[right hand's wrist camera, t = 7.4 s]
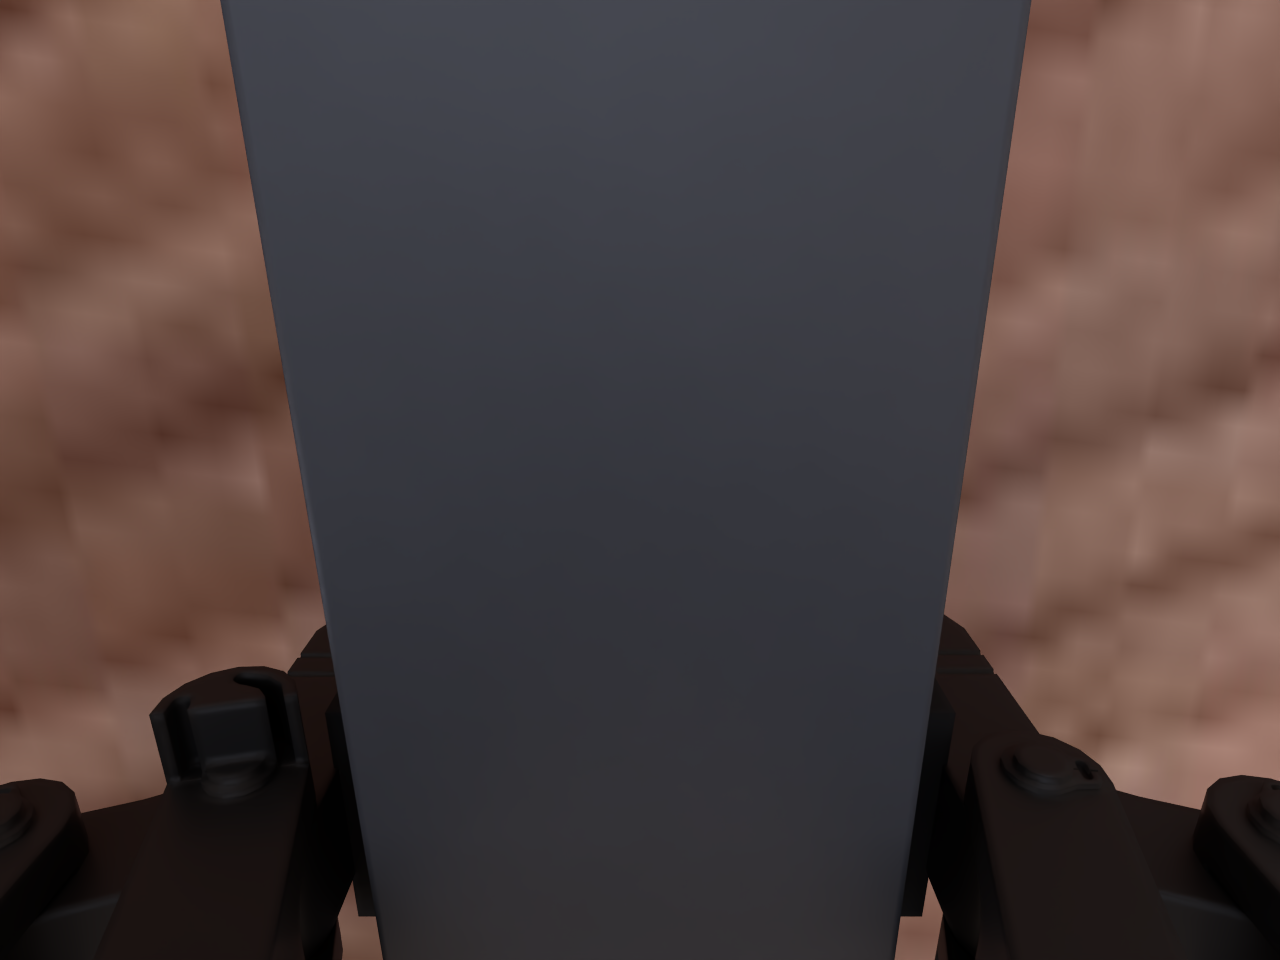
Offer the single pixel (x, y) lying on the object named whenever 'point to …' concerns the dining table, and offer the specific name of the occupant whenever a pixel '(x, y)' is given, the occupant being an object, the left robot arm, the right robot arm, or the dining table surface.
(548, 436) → the beam
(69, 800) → the right robot arm
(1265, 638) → the dining table surface
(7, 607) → the dining table surface
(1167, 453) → the dining table surface
